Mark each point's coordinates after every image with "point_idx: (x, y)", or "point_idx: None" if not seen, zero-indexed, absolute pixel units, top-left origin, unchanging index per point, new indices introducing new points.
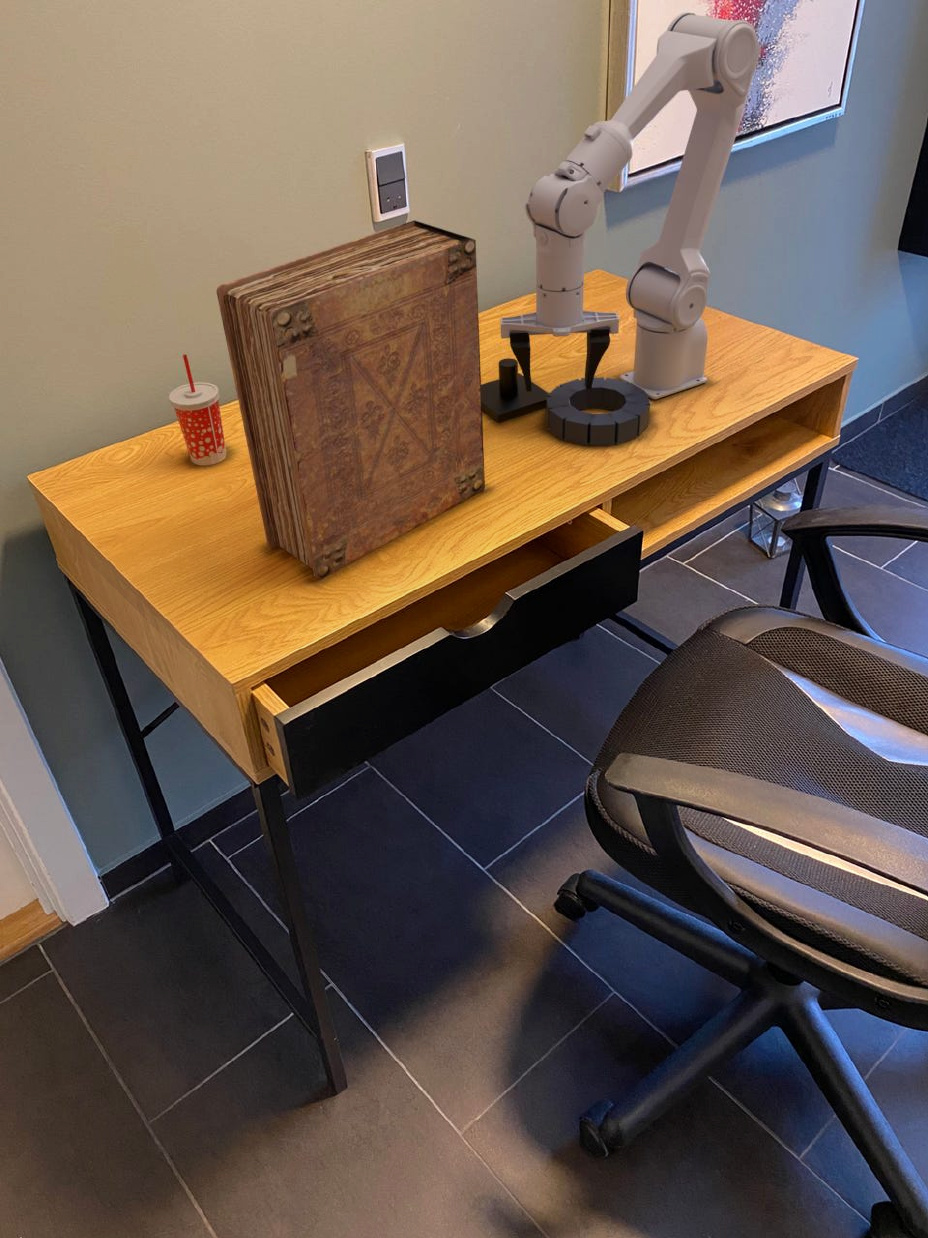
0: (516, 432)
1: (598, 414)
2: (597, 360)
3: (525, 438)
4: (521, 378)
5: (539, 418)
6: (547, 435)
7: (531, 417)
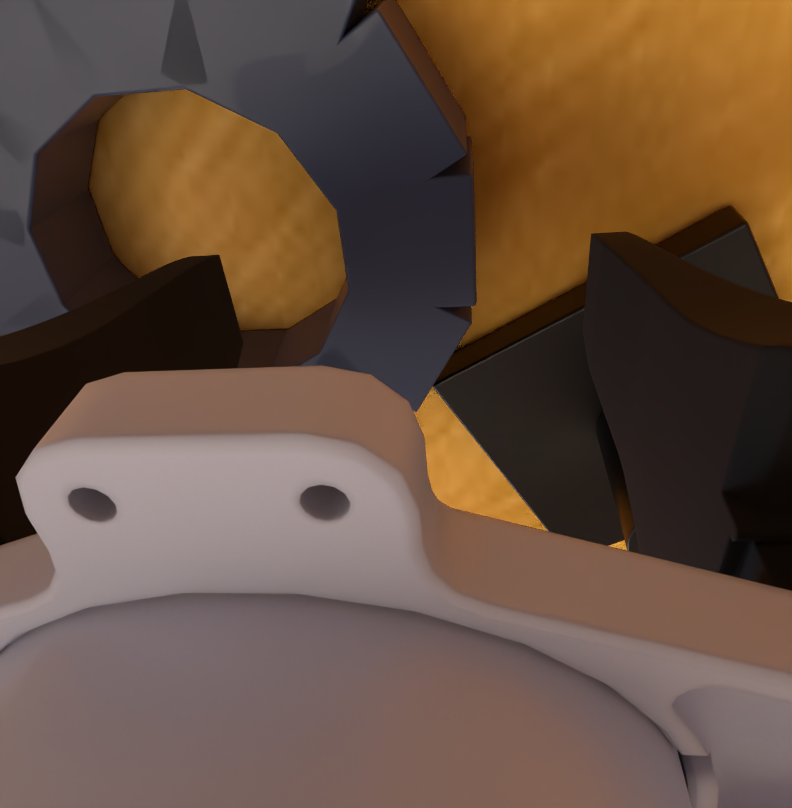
0: (649, 93)
1: (148, 77)
2: (25, 333)
3: (608, 14)
4: (565, 523)
5: (507, 246)
6: (475, 54)
7: (546, 257)
